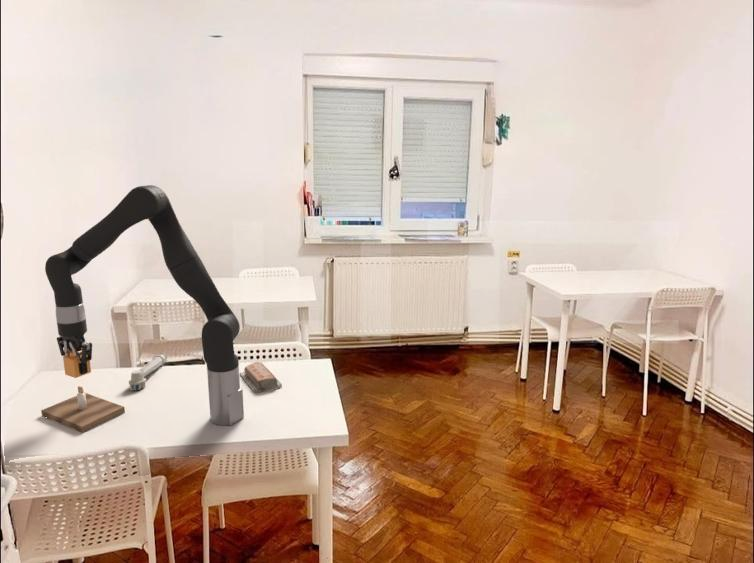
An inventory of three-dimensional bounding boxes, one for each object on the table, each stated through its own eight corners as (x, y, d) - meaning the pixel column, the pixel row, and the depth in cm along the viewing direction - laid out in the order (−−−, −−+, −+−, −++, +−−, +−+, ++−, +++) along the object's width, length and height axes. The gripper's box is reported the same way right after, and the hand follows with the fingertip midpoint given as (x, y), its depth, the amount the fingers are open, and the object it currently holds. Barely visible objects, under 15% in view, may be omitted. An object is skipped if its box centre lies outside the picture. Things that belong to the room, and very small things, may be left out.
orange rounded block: (91, 372, 162) (88, 350, 160) (75, 378, 158) (72, 356, 156) (80, 368, 164) (78, 347, 163) (65, 374, 160) (62, 353, 158)
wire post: (88, 407, 164) (85, 385, 162) (81, 410, 162) (78, 388, 161) (84, 406, 165) (81, 384, 163) (77, 409, 163) (74, 387, 162)
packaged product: (282, 375, 184) (254, 381, 179) (282, 388, 185) (255, 394, 180) (265, 358, 199) (239, 363, 194) (265, 370, 200) (239, 375, 195)
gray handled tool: (168, 353, 204) (140, 371, 179) (168, 370, 205) (141, 390, 180) (154, 353, 204) (125, 371, 179) (155, 370, 204) (126, 390, 180)
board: (124, 412, 166) (124, 406, 165) (82, 432, 154) (82, 426, 153) (84, 398, 175) (84, 392, 174) (42, 416, 163) (41, 410, 162)
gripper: (98, 319, 157) (104, 372, 161) (68, 311, 163) (75, 362, 167) (74, 326, 150) (81, 381, 154) (44, 317, 157) (51, 370, 161)
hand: (77, 371), depth 161 cm, fingers closed on orange rounded block, 5 cm apart
